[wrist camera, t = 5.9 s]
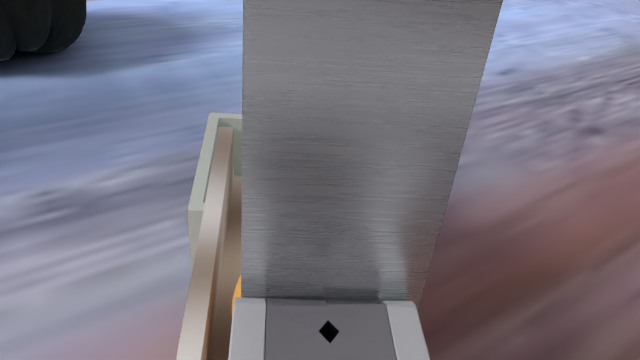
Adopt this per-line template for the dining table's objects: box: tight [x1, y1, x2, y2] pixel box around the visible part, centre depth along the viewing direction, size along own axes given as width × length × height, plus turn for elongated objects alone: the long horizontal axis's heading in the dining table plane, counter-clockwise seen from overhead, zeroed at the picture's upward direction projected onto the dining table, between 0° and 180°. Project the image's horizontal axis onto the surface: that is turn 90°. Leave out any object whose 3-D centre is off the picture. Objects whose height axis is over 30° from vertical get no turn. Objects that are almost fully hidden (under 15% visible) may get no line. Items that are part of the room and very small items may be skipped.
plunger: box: [241, 0, 503, 311], centre depth 10 cm, size 3×4×15 cm, turn 93°
